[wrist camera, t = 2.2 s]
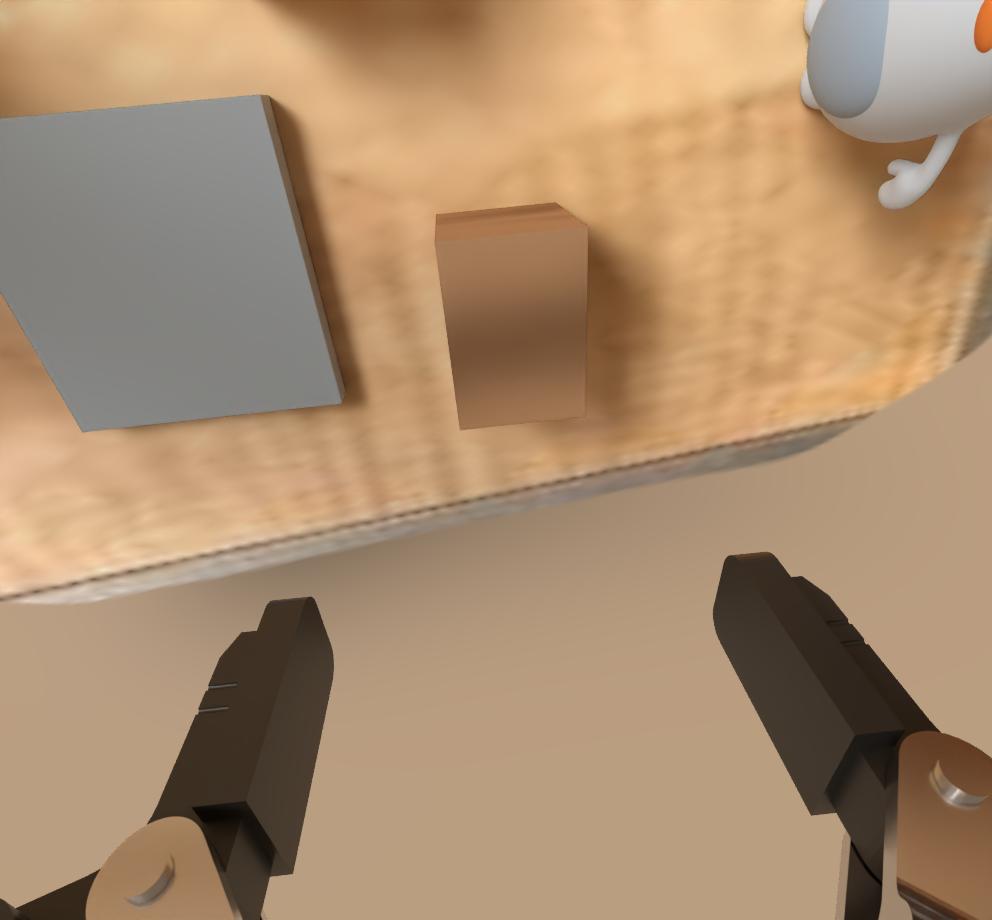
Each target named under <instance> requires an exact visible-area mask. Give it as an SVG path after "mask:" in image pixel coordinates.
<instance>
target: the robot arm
mask: <svg viewBox="0 0 992 920" xmlns="http://www.w3.org/2000/svg"><path fill="white" fill-rule="evenodd" d="M713 620H714V626H715V630H716V633H717V636H718V639H719V640H720V643H721V645H722V647H723V649H724V650H725V652H726V654H727V656H728V658H729V660H730V662H731V664H732V666H733V668H734V669H735V671H736V673H737V675H738V677H739V679H740V681H741V683H742V685H743V687H744V689H745V691H746V692H747V694H748V696H749V698H750V700H751V702H752V704H753V706H754V707H755V710H756V711H757V713H758V715H759V717H760V719H761V721H762V722H763V725H764V727H765V729H766V731H767V732H768V734H769V736H770V738H771V740H772V742H773V744H774V746H775V748H776V749H777V751H778V753H779V755H780V757H781V759H782V761H783V763H784V765H785V766H786V768H787V771H788V772H789V774H790V776H791V778H792V780H793V782H794V784H795V786H796V788H797V790H798V791H799V793H800V795H801V797H802V799H803V801H804V803H805V805H806V806H807V809H808V811H809V812H810V814H811V815H819V814H829V813H837V815H838V816H839V818H840V820H841V822H842V824H843V825H844V827H845V829H846V832H845V834H844V836H843V841H842V852H841V863H840V873H839V884H838V895H837V906H836V917H835V920H992V758H991V757H990V756H988V755H987V754H986V753H984V752H983V751H981V750H980V749H978V748H977V747H975V746H973V745H971V744H970V743H968V742H966V741H964V740H961V739H959V738H957V737H954V736H951V735H948V734H945V733H941V732H940V731H939V730H938V729H937V728H936V727H935V726H934V725H933V723H932V722H931V721H930V720H929V719H928V718H927V716H926V715H925V714H924V713H923V711H922V710H921V709H920V708H919V706H918V705H917V704H916V703H915V702H914V700H913V699H912V698H911V697H910V695H909V694H908V693H907V692H906V690H905V689H904V688H903V687H902V685H901V684H900V683H899V682H898V680H897V679H896V678H895V677H894V676H893V674H892V673H891V672H890V671H889V669H888V668H887V667H886V666H885V664H884V663H883V662H882V661H881V659H880V658H879V657H878V656H877V655H876V653H875V652H874V651H873V649H872V648H871V647H870V646H869V645H868V644H867V645H866V644H865V642H864V638H863V637H862V636H861V635H860V633H859V632H858V631H857V630H856V629H855V627H854V626H853V625H852V624H849V623H848V618H847V617H846V616H845V615H844V614H843V612H842V611H841V610H840V609H839V607H838V606H837V605H836V604H835V602H834V601H833V600H832V599H831V597H830V596H829V595H828V594H826V593H825V592H823V591H822V590H820V589H819V588H818V587H816V586H815V585H813V584H812V583H811V582H809V581H808V580H807V579H805V578H804V577H802V576H799V577H791V576H790V575H789V574H788V573H787V571H786V570H785V569H784V567H783V566H782V565H781V563H780V562H779V561H778V559H777V558H776V557H775V556H774V555H773V554H772V553H769V552H760V553H750V554H740V555H730V556H728V557H727V558H726V559H725V561H724V565H723V569H722V573H721V578H720V582H719V586H718V590H717V595H716V599H715V603H714V608H713ZM333 672H334V659H333V651H332V647H331V644H330V641H329V638H328V636H327V632H326V629H325V627H324V624H323V621H322V619H321V615H320V612H319V610H318V607H317V604H316V602H315V600H314V598H312V597H302V598H293V599H282V600H273V601H270V602H269V603H268V604H267V606H266V608H265V611H264V614H263V616H262V619H261V621H260V624H259V627H258V629H257V631H251V632H242V633H241V634H240V635H239V636H238V637H237V638H236V640H235V641H234V642H233V643H232V644H231V646H230V647H229V648H228V649H227V650H226V651H225V652H224V653H223V655H222V656H221V657H220V659H219V661H218V664H217V666H216V668H215V671H214V673H213V675H212V678H211V680H210V682H209V685H208V686H209V689H208V691H206V692H205V694H204V697H203V699H202V702H201V704H200V706H199V708H198V709H199V713H198V715H195V718H194V720H193V723H192V725H191V727H190V730H189V732H188V734H187V737H186V739H185V741H184V744H183V746H182V749H181V751H180V753H179V756H178V758H177V760H176V763H175V765H174V767H173V770H172V772H171V774H170V777H169V779H168V782H167V784H166V786H165V789H164V791H163V794H162V796H161V798H160V801H159V803H158V805H157V807H156V809H155V811H154V813H153V815H152V817H151V818H150V820H149V822H148V823H147V825H146V826H144V827H142V828H141V829H139V830H138V831H136V832H135V833H133V834H132V835H131V836H130V837H128V838H127V839H126V840H125V841H124V842H123V843H122V844H120V846H118V847H117V849H116V850H115V851H114V852H113V853H112V854H111V855H110V856H109V858H108V859H107V861H106V862H105V863H104V865H103V866H102V867H101V869H99V870H98V871H96V872H94V873H92V874H90V875H88V876H86V877H84V878H82V879H80V880H77V881H75V882H73V883H71V884H68V885H66V886H64V887H62V888H60V889H57V890H55V891H53V892H51V893H49V894H46V895H44V896H42V897H40V898H37V899H35V900H33V901H31V902H29V903H26V904H24V905H22V906H20V907H18V908H14V907H13V906H11V905H10V904H8V903H7V902H5V901H4V900H2V899H0V920H267V918H266V915H265V913H264V911H263V909H262V908H263V903H264V898H265V895H266V890H267V886H268V882H269V878H270V877H271V876H280V875H288V874H293V871H294V866H295V861H296V856H297V851H298V846H299V841H300V836H301V831H302V826H303V822H304V817H305V812H306V807H307V802H308V798H309V793H310V788H311V783H312V778H313V773H314V768H315V763H316V759H317V754H318V749H319V744H320V739H321V734H322V729H323V724H324V720H325V715H326V710H327V705H328V700H329V695H330V690H331V686H332V680H333Z"/></svg>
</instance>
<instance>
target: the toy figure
mask: <svg viewBox="0 0 992 920" xmlns="http://www.w3.org/2000/svg"><path fill="white" fill-rule="evenodd" d="M803 22H804V27H805V31H806V32H807V34H808V35H809V37H810V40H809V44H808V51H807V67H806V69H805V71H804V73H803V76H802V79H801V84H800V93H801V97H802V100H803V101H804V103H805V104H806V105H807V106H809V107H811V108H813V109H818V110H821V112H822V113H823V115H824V116H825V117H826V118H827V119H828V120H829V121H830V122H831V123H832V124H833V125H834V126H835V127H836V128H838V129H839V130H841V131H842V132H844V133H846V134H848V135H850V136H852V137H855V138H858V139H861V140H865V141H870V142H877V143H898V142H907V141H913V140H919V139H924V138H928V137H932V136H935V135H937V138H936V140H935V142H934V144H933V147H932V149H931V151H930V153H929V155H928V156H927V158H926V159H925V161H924V162H923V163H921V164H919V163H915V162H911V161H909V160H903V159H896V160H894V161H892V162H891V163H890V164H889V166H888V168H887V171H888V173H889V174H890V175H893V176H896V177H895V178H894V179H891V180H889V181H887V182H885V183H884V184H883V185H882V186H881V187H880V189H879V192H878V199H879V202H880V204H881V205H882V206H883V207H884V208H887V209H891V210H898V209H902V208H905V207H908V206H909V205H911V204H913V203H914V202H915V201H917V200H918V199H919V198H920V197H921V196H922V195H924V194H925V193H926V192H927V191H928V189H929V188H930V187H931V186H932V184H933V183H934V181H935V180H936V178H937V177H938V175H939V174H940V172H941V171H942V169H943V168H944V166H945V164H946V163H947V161H948V159H949V158H950V156H951V154H952V152H953V150H954V148H955V146H956V144H957V142H958V140H959V138H960V136H961V134H962V133H963V132H964V130H965V129H966V128H968V127H970V126H971V125H973V124H975V123H976V122H978V121H980V120H982V119H984V118H986V117H987V116H990V115H992V0H807V2H806V5H805V9H804V15H803Z"/></svg>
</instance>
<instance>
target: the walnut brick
mask: <svg viewBox="0 0 992 920" xmlns="http://www.w3.org/2000/svg"><path fill="white" fill-rule="evenodd" d="M435 247H436V255H437V262H438V270H439V277H440V285H441V292H442V299H443V307H444V314H445V322H446V329H447V337H448V344H449V351H450V359H451V366H452V374H453V381H454V389H455V396H456V403H457V411H458V418H459V426H460V430H467V429H476V428H485V427H494V426H502V425H511V424H520V423H529V422H538V421H547V420H556V419H565V418H574V417H582V416H585V413H586V342H587V271H588V226H586V225H585V224H584V223H582V222H581V221H580V220H578V219H577V218H576V217H574V216H573V215H572V214H570V213H569V212H567V211H566V210H565V209H563V208H562V207H561V206H559V205H558V204H557V203H546V204H536V205H526V206H517V207H507V208H497V209H487V210H477V211H467V212H457V213H447V214H437V215H436V230H435Z"/></svg>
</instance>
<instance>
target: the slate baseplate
mask: <svg viewBox="0 0 992 920" xmlns="http://www.w3.org/2000/svg"><path fill="white" fill-rule="evenodd" d="M0 292H1V294H2V295H3V297H4V299H5V301H6V302H7V304H8V306H9V307H10V309H11V311H12V313H13V314H14V316H15V318H16V319H17V321H18V323H19V325H20V326H21V328H22V330H23V331H24V333H25V335H26V336H27V338H28V340H29V342H30V343H31V345H32V347H33V348H34V350H35V352H36V354H37V355H38V357H39V359H40V360H41V362H42V364H43V366H44V367H45V369H46V371H47V372H48V374H49V376H50V377H51V379H52V381H53V383H54V384H55V386H56V388H57V389H58V391H59V393H60V395H61V396H62V398H63V400H64V401H65V403H66V405H67V407H68V408H69V410H70V412H71V413H72V415H73V417H74V418H75V420H76V422H77V424H78V425H79V427H80V429H81V430H82V432H89V431H98V430H107V429H116V428H125V427H134V426H143V425H152V424H161V423H170V422H180V421H189V420H198V419H207V418H216V417H225V416H234V415H243V414H252V413H261V412H270V411H279V410H289V409H298V408H307V407H316V406H325V405H334V404H342V402H343V399H344V396H345V393H346V391H345V388H344V384H343V380H342V376H341V372H340V368H339V364H338V360H337V357H336V353H335V349H334V345H333V341H332V337H331V333H330V330H329V326H328V322H327V318H326V314H325V310H324V306H323V302H322V299H321V295H320V291H319V287H318V283H317V279H316V275H315V272H314V268H313V264H312V260H311V256H310V252H309V248H308V244H307V241H306V237H305V233H304V229H303V225H302V221H301V217H300V214H299V210H298V206H297V202H296V198H295V194H294V190H293V186H292V183H291V179H290V175H289V171H288V167H287V163H286V159H285V156H284V152H283V148H282V144H281V140H280V136H279V132H278V128H277V125H276V121H275V117H274V113H273V109H272V105H271V101H270V98H269V96H266V95H251V96H240V97H230V98H219V99H208V100H197V101H186V102H175V103H165V104H154V105H143V106H132V107H121V108H110V109H99V110H89V111H78V112H67V113H56V114H45V115H34V116H24V117H13V118H2V119H0Z"/></svg>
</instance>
